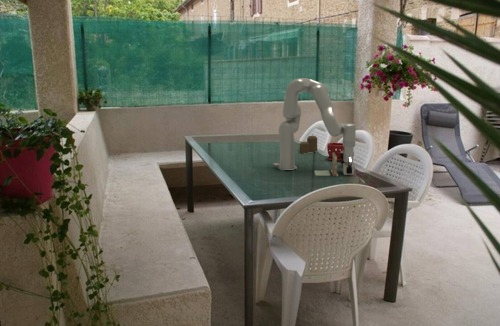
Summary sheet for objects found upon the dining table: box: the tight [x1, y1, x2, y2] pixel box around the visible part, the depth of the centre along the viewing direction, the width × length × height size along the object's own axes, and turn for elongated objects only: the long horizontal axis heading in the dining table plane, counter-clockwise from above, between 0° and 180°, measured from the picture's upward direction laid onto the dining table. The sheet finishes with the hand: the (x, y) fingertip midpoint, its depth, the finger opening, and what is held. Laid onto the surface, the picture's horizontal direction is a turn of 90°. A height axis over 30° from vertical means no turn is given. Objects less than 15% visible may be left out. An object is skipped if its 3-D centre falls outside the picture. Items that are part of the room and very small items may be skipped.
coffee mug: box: [336, 151, 355, 168], centre depth 280 cm, size 12×9×10 cm
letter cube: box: [342, 162, 355, 176], centre depth 263 cm, size 7×6×6 cm
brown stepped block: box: [299, 133, 318, 153], centre depth 331 cm, size 14×14×15 cm
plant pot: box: [326, 142, 344, 162], centre depth 301 cm, size 13×13×12 cm
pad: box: [313, 170, 331, 177], centre depth 264 cm, size 9×11×1 cm
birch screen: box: [330, 153, 339, 177], centre depth 263 cm, size 3×13×12 cm, turn 176°
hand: (348, 171), depth 263 cm, fingers open, 7 cm apart
